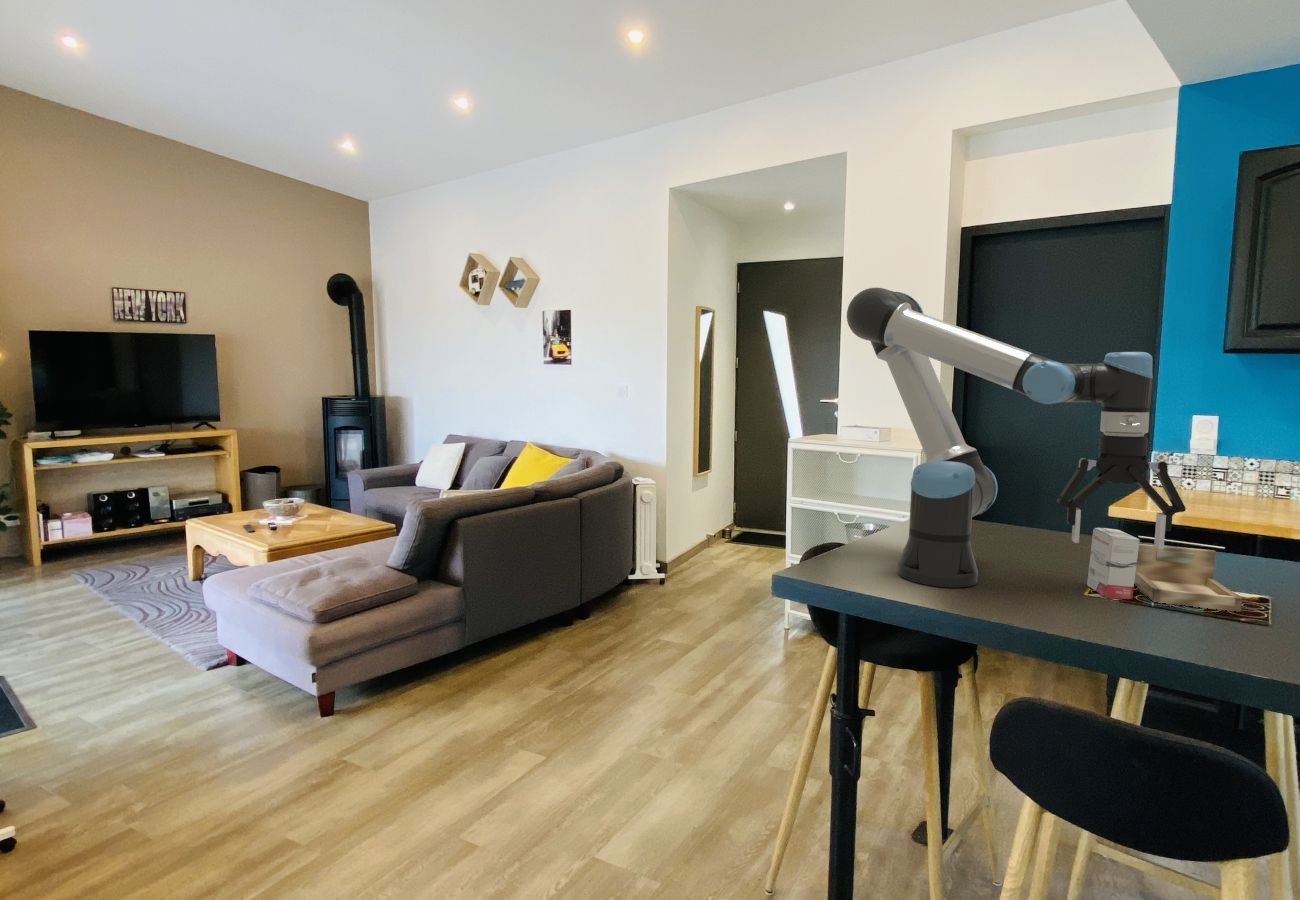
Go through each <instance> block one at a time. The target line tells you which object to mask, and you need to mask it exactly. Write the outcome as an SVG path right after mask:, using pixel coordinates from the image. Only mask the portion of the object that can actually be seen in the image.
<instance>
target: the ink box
mask: <svg viewBox="0 0 1300 900" xmlns="http://www.w3.org/2000/svg"><path fill="white" fill-rule="evenodd" d="M1091 538H1092V539H1091V547H1090V555H1089V565H1088V572H1087V573H1088V575H1087V580H1086V581H1087V583H1086V585H1087V587H1089V588H1091V589H1092V590H1093V591H1095V592H1097V593H1098V594H1100V595H1101V596H1102V597H1104V598H1106V599H1107V598H1108V599H1122V600H1133V597H1134V591H1135V590H1134V587H1135V585H1134V582H1135V573H1136V565H1137V557H1138V549H1139V544H1140V541H1141V540H1140V538H1137V537H1135V536H1133V535H1131V534H1128V533H1127V532H1124V531H1122V530H1120V529H1114V528H1108V527H1094V528H1093V531H1092V537H1091Z"/></svg>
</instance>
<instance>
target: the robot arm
mask: <svg viewBox="0 0 1300 900" xmlns="http://www.w3.org/2000/svg"><path fill="white" fill-rule="evenodd" d="M846 321H847V325H848V327H849V329H850V331H851V332H852V333H853V334H854V335H855V336H856V337H857V338H860V339H861V340H865V341H869V342H870V344H871V345H872V347H873V351H874V353H875V355H876V357H877V359H878V360H879V359H880V360H881V361H883V362H884V361H885V362H886V363H887V366H888V368H889V371H890V374H891V375H892V378H893V380H894V383H895V385H896V388H897V390H898V392H899V395H900V397H901V400H902V402H903V405H904V407H905V408H906V412H907V414H908V416H909V420H910V422H911V423H912V426H913V428H914V432H915V433H916V436H917V439H918V440H919V442H920V443H919V444H920V445H921V448H922V450H923V452H924V455H925V457H926V459H925V461H924V462H923V463H920V464H918V465H917V466H915V467H914V469H913V470H912V478H911V481H910V488H911V489H910V490H911V491H910V508H909V511H910V512H909V525H908V526H909V528H908V529H909V531H908V532H909V533H908V539H907V541H906V543H905V546H904V548H903V551H902V553H901V556H900V558H899V561H898V566H897V572H898V573H897V574H898V575H899V576H900V577H902V578H903V579H906V580H908V581H909V582H914V583H918V584H922V585H926V586H931V587H938V588H939V587H940V588H968V587H972V586H975V585H976V584H977V583H978V581H979V569H978V567H977V563H976V560H975V557H974V553H973V549H972V545H971V535H972V521H973V518H974V517H977V516H980V515H982V514H983V513H985V512H986V511H987V510H988V509H990V507H991V506H992V505H993V504H994V503H995V500H996V498H997V494H998V490H999V489H998V487H999V486H998V481H997V479H996V476H995V474H994V472H992V471H991V469H989V468H988V467H987V466H986V465H984V463H983V462H982V460H981V457H980V454H979V452H978V450H977V448H975V447H972V446H970V445H968V444H967V443H966V441H965V439H964V437H963V434H962V432H961V430H960V426H959V425H958V422H957V420H956V417H955V416H954V413H953V411H952V407H950V404H949V401H948V399H947V397H946V395H945V392H944V390H943V388H942V386H941V383H940V381H939V378H938V376H937V373H936V371H935V369H934V367H933V365H932V362H931V360H930V359H933V360H936V361H938V362H941V363H944V364H946V365H949V366H951V367H952V368H956V369H958V370H961V371H963V372H966V373H969V374H971V375H974V376H976V377H979V378H982V379H983V380H985V381H986V380H987V381H989V382H992V383H994V384H997V385H1000V386H1002V387H1005V388H1007V389H1010V390H1012V391H1014V392H1017V393H1019V394H1022V395H1023V396H1026V397H1028V398H1029V399H1031V400H1032V401H1033V402H1037V403H1040V404H1042V405H1054V404H1060V403H1101V413H1100V428H1099V431H1100V432H1101V433H1103V434H1101V435H1100V436H1099V440H1098V441H1099V443H1098V456H1097V459H1096V460H1095V459H1094V460H1093V459H1087V458H1085V457H1081V458H1079V459H1078V462H1077V467H1076V469H1075V471H1074V473H1073V475H1072V476H1071V477H1070V479H1069V480H1068V482H1067V484H1066V485H1065V486H1064V488H1063V489H1062V491H1061V492H1060V494H1059V496H1058V497H1057V499H1056V502H1057V503H1058V504H1059V505H1061V506H1064V507H1066V509H1067V510H1066V522H1067V524H1068V526H1071V527H1072V529H1071V541H1072V543H1074V544H1079V543H1080V535H1081V534H1080V532H1081V531H1080V529H1081V517H1082V515H1081V513H1082V510H1081V509H1080V508H1079V506H1081V504H1083V503H1084V501H1086V500H1087V499H1088V498H1089V497H1090V496H1092V495H1093V493H1095V492H1096V491H1097V490H1098V489H1099V488H1101V487H1102V486H1104V485H1105V484H1106V483H1107V482H1108V483H1111V484H1126V485H1132V484H1136V485H1138V486H1139V488H1140V489H1141V490H1142V491H1143V492H1144V493H1145V494H1146V495H1147V496H1148V497H1149V498H1150V500H1151V501H1152V502H1153V503H1154V504H1155V506H1157V507H1158V508H1159V510H1160V511H1161V512H1157V511H1156V514H1155V517H1156V518H1155V527H1154V528H1155V529H1154V531H1155V532H1154V543H1153V545H1154V546H1155V547H1156V548H1158V549H1163V550H1164V546H1165V538H1166V537H1165V535H1166V532H1171V530H1172V529H1173V528H1172V526H1173V516H1175V514H1177V513H1184V512H1185V511H1186V509H1187V508H1186V506H1185V504H1184V502H1183V500H1182V498H1181V497H1180V496H1181V495H1180V494H1179V493H1178V491H1177V488H1176V487H1175V485H1174V482H1173V481H1172V479H1171V477H1170V475H1169V469H1168V463H1167V462H1166V461H1162V460H1160V459H1159V460H1156V461H1148V459H1147V456H1148V445H1149V444H1148V442H1149V438H1148V437H1147V436H1146V435H1145V434H1147V433H1149V428H1150V427H1149V426H1150V410H1151V400H1152V391H1153V390H1152V389H1153V378H1154V376H1153V363H1154V362H1153V361H1154V359H1153V355H1151V354H1150V353H1148V352H1146V351H1145V352H1144V351H1119V352H1109V353H1108V352H1107V353H1106V354H1105V356H1104V359H1103V360H1102V362H1099V363H1063V362H1059V361H1056V360H1053V359H1050V358H1049V357H1048V358H1047V357H1046V356H1042V355H1039V354H1036V353H1032V352H1030V351H1027V350H1024V349H1022V348H1018V347H1017V346H1013V345H1012V344H1011V345H1010V344H1008V343H1005V342H1003V341H999V340H997V339H994V338H991V337H989V336H987V335H983V334H980V333H977V332H975V331H972V330H969V329H967V328H963V327H960V326H958V325H955V324H952V323H950V322H947V321H944V320H942V319H938V318H935V317H934V316H931V315H928V314H925V313H924V311H923V308H922V306H921V304H920V303H919V302H918V300H917V299H915V298H913V297H912V296H910V295H909V294H907V293H905V292H900V291H893V290H889V289H886V288H883V287H869V288H866V289H863V290H862V291H860V292H858V293H857V294H856V295H855V296H854V297H853V298H852V299H851V301H850V302H849V303H848V306H847V310H846ZM1093 467H1095V468H1096V469H1097V470H1098V471H1099V472H1098V473H1097V474H1096V475H1095V477H1093V479H1092V480H1090V481H1089V483H1088V484H1086V485H1085V486H1084V487H1083V488H1082V489H1081V490H1080V491H1078V492H1077V493H1076V495H1074V496H1073V497H1072V495H1073V494H1074V492H1075V490H1076V489H1077V488H1078V486H1079V485H1080V483H1081V482H1082V480H1083V479H1084V477H1085V476H1086V474H1087V471H1091V470H1092V468H1093ZM1149 469H1151V472H1152V473H1154V474H1156V477H1157V479H1158V480H1159V482H1160V484H1161V487H1162V488H1163V491H1164V492H1165V494H1166V496H1167V499H1168V500H1169V501H1170V503H1171V505H1169V504H1168V502H1166V500H1164V499H1165V498H1163V497H1162V496H1161V495H1160V494H1159V493H1158V492H1157V490H1156V489H1155V488H1154V487H1153V486H1152V485H1151V484H1150V483H1149V481H1148V480H1147V478H1145V477H1144V476H1143V475H1145V473H1146V472H1148V470H1149ZM1071 497H1072V498H1071Z"/></svg>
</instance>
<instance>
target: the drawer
mask: <svg viewBox="0 0 1300 900" xmlns="http://www.w3.org/2000/svg"><path fill="white" fill-rule="evenodd" d="M1216 555H1217V551H1216V550H1214V549H1203V548H1194V547H1193V548H1192V547H1190V548H1189V547H1180V546H1168V545H1164V550H1163V549H1158V548H1156V547H1155V546H1154V544H1145V543H1139V549H1138V557H1137V565H1136V573H1135V582H1134V584H1135V585H1136V586H1137V587H1138V588H1139V589H1138V588H1137V587H1136V586H1135V585H1134V586H1135V587H1136V588H1137V589H1138V590H1139V591H1141V593H1143V595H1144V596H1146V597H1147V596H1148V597H1149V598H1150V599H1151V600H1152V601H1153V602H1158V603H1157V604H1162V603H1166V604H1165V605H1171V604H1177V605H1176V606H1180V605H1185V606H1184V607H1189V606H1193V607H1192V608H1198V607H1200V609H1207V608H1208V610H1216V609H1217V610H1218V611H1225V610H1227V611H1226V612H1234V611H1236V613H1241V612H1242V605H1243V604H1242V603H1243V598H1242V597H1240V596H1239V595H1237V594H1236V593H1235V592H1233V591H1232V590H1231V589H1229V588H1228V587H1225V585H1223V584H1221V583H1220V582H1219V581H1217V580H1215V579H1214V574H1215V563H1216ZM1148 597H1147V598H1148ZM1149 598H1148V599H1149ZM1150 599H1149V600H1150ZM1151 600H1150V601H1151ZM1152 601H1151V602H1152ZM1153 602H1152V603H1153Z"/></svg>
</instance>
